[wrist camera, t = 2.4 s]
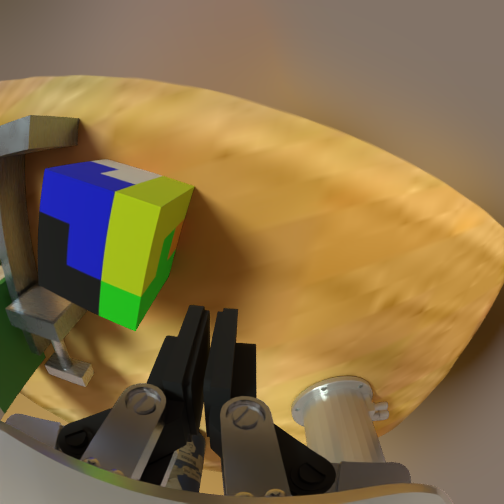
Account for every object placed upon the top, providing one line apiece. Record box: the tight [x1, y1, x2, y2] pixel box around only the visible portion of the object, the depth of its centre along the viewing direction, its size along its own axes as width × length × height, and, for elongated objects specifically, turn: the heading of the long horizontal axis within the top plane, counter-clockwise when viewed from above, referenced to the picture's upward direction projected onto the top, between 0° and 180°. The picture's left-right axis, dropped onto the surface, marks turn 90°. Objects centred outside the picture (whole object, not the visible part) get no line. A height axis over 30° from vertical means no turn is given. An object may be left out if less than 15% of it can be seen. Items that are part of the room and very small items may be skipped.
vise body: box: [0, 115, 79, 356], centre depth 23 cm, size 12×30×8 cm, turn 176°
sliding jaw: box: [5, 282, 94, 387], centre depth 27 cm, size 9×12×8 cm
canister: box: [165, 433, 206, 493], centre depth 31 cm, size 10×10×18 cm
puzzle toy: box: [38, 159, 195, 331], centre depth 22 cm, size 10×10×10 cm
